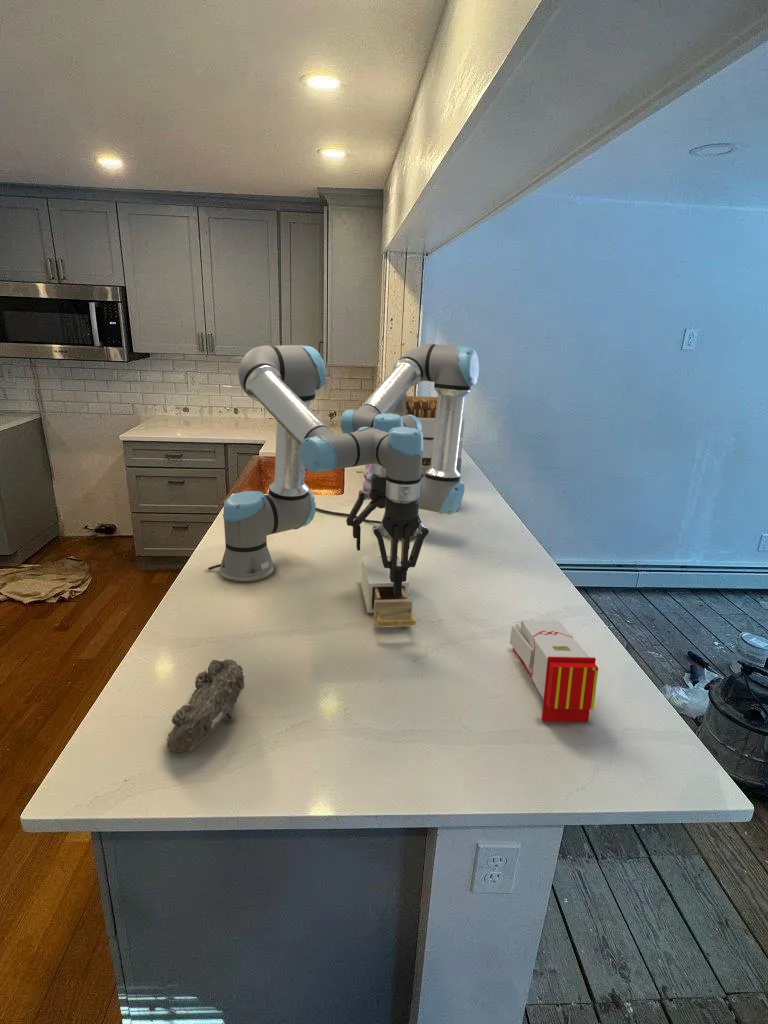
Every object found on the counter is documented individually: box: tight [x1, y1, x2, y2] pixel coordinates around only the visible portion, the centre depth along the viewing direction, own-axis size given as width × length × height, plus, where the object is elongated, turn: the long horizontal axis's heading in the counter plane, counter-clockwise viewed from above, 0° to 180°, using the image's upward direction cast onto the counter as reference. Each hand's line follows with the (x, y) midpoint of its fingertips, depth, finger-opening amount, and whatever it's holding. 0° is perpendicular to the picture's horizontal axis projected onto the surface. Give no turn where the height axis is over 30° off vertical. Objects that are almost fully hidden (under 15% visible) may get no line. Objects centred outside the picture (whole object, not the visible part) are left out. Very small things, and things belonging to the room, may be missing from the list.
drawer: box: [372, 586, 417, 628], centre depth 144 cm, size 21×9×6 cm, turn 8°
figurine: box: [362, 464, 373, 499], centre depth 237 cm, size 9×10×15 cm
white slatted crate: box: [389, 392, 465, 475], centre depth 268 cm, size 34×33×41 cm
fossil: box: [166, 658, 245, 754], centre depth 106 cm, size 22×10×15 cm
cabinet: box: [360, 555, 410, 614], centre depth 154 cm, size 17×10×9 cm, turn 8°
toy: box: [509, 619, 599, 723], centre depth 122 cm, size 12×13×30 cm
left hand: (397, 593), depth 133 cm, fingers closed
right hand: (382, 548), depth 156 cm, fingers open, 13 cm apart
